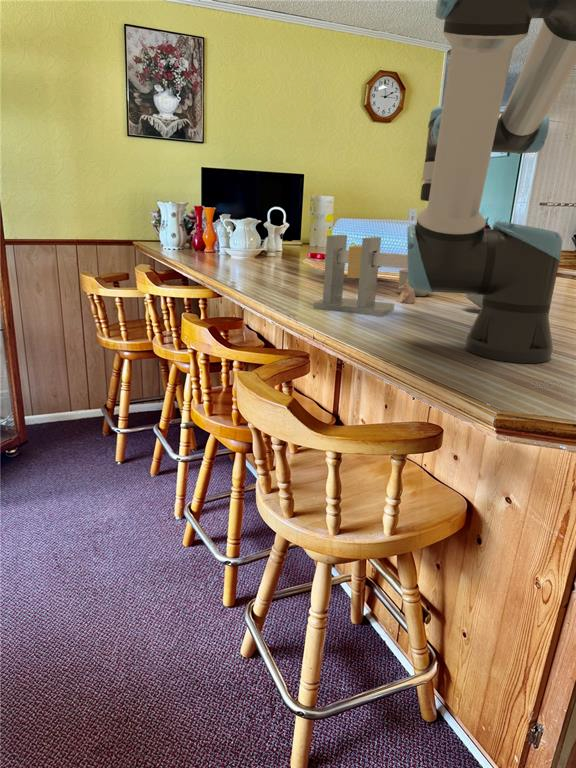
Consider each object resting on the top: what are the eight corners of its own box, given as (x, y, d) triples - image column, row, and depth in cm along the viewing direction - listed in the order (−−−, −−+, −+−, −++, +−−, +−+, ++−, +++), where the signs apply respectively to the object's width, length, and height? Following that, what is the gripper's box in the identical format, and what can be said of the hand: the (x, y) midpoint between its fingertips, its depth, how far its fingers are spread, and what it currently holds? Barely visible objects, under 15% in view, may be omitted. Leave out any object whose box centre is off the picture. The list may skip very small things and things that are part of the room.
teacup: (426, 299, 160) (430, 272, 158) (391, 295, 165) (394, 268, 163) (439, 294, 172) (442, 268, 169) (406, 290, 177) (409, 265, 174)
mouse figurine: (426, 305, 151) (429, 280, 149) (398, 303, 151) (401, 279, 149) (422, 302, 156) (424, 278, 154) (394, 300, 156) (397, 277, 154)
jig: (382, 316, 131) (390, 240, 125) (313, 308, 137) (318, 235, 132) (393, 309, 141) (401, 238, 136) (329, 301, 148) (333, 234, 142)
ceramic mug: (488, 319, 142) (511, 299, 138) (464, 302, 141) (486, 281, 136) (487, 299, 150) (508, 280, 145) (465, 283, 149) (485, 263, 144)
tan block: (360, 278, 133) (363, 247, 131) (347, 277, 134) (349, 246, 132) (368, 275, 139) (371, 246, 137) (355, 274, 141) (357, 245, 138)
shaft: (434, 273, 127) (436, 255, 126) (336, 264, 136) (337, 248, 135) (437, 271, 131) (439, 254, 130) (340, 263, 140) (342, 247, 138)
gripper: (451, 181, 115) (436, 291, 122) (459, 185, 130) (446, 283, 137) (415, 180, 117) (403, 288, 125) (428, 184, 132) (416, 280, 140)
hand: (425, 285), depth 131 cm, fingers closed on shaft, 4 cm apart
